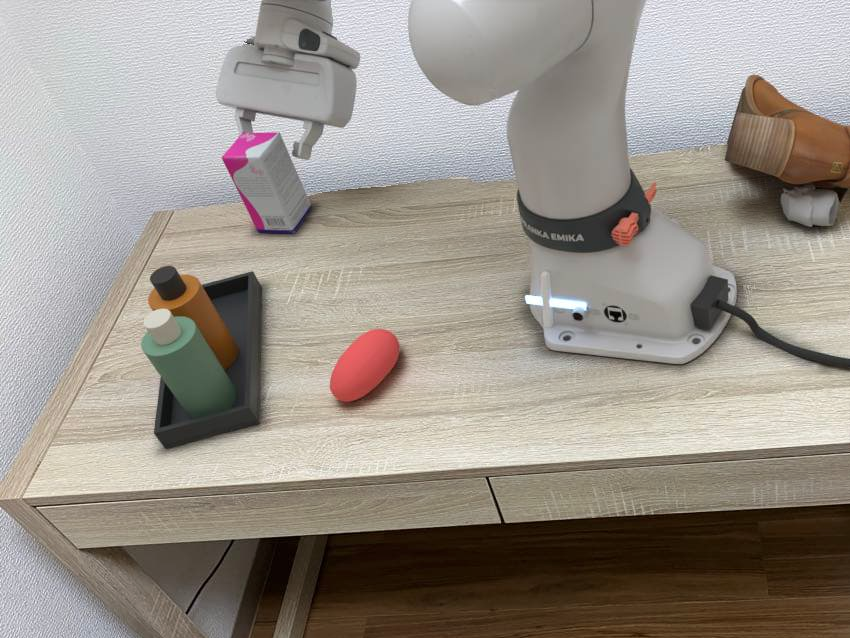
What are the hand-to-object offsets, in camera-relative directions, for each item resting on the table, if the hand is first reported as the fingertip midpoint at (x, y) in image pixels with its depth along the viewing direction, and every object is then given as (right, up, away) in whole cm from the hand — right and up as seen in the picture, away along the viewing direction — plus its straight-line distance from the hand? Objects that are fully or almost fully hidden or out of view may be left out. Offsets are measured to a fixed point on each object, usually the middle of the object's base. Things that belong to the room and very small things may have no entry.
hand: (272, 152), depth 115 cm
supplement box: (0, -8, +5) cm, 9 cm away
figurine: (+65, -8, -13) cm, 67 cm away
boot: (+56, +1, -9) cm, 57 cm away
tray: (-3, -27, -12) cm, 30 cm away
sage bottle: (-1, -32, -17) cm, 36 cm away
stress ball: (+17, -31, -19) cm, 40 cm away
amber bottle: (-3, -27, -12) cm, 30 cm away
